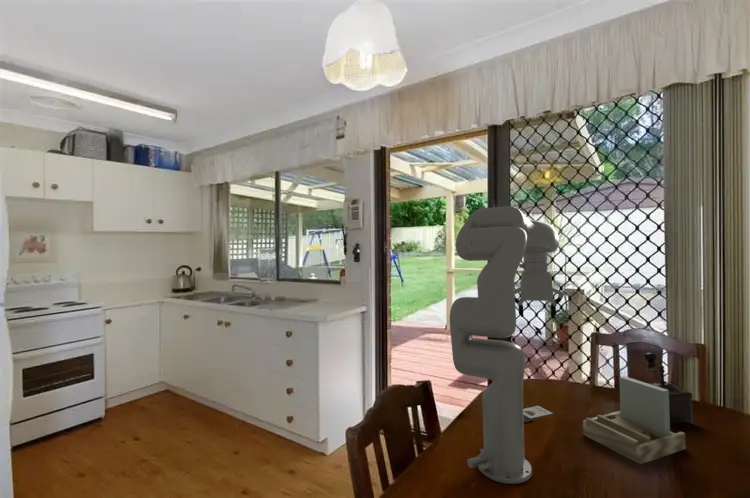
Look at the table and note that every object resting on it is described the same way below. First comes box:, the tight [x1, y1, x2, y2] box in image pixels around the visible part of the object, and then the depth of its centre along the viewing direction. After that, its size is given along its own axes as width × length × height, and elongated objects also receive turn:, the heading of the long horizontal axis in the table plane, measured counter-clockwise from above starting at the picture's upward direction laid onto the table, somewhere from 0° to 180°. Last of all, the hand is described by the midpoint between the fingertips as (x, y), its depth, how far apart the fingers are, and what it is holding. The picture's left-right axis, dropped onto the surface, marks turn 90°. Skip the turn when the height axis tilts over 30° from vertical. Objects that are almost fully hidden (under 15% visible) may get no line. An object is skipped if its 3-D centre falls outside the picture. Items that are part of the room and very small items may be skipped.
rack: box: [582, 410, 686, 465], centre depth 102 cm, size 17×16×6 cm
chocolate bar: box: [523, 404, 555, 425], centre depth 122 cm, size 9×1×18 cm
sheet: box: [618, 375, 671, 436], centre depth 104 cm, size 2×12×15 cm, turn 21°
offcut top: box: [612, 417, 649, 436], centre depth 103 cm, size 3×8×2 cm, turn 25°
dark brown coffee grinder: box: [642, 352, 695, 425], centre depth 120 cm, size 16×11×18 cm
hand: (537, 316), depth 130 cm, fingers open, 9 cm apart
